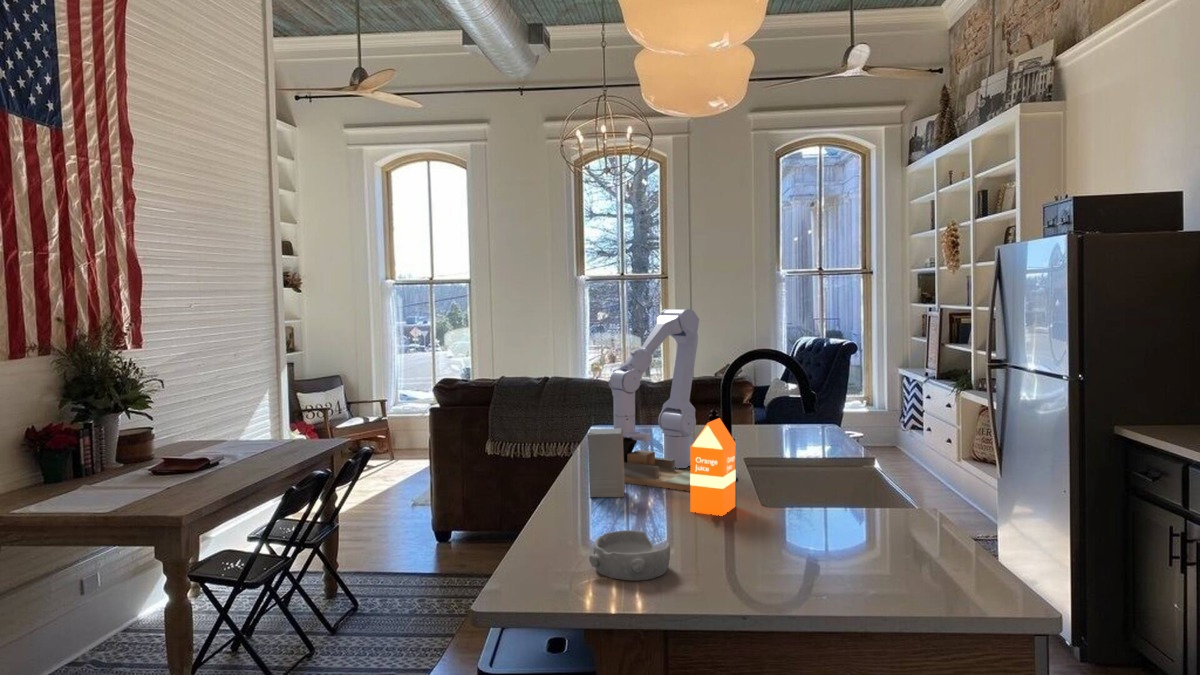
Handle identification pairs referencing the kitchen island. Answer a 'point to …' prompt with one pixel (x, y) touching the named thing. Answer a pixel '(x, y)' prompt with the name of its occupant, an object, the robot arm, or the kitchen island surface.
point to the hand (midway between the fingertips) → (624, 466)
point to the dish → (629, 556)
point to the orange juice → (713, 471)
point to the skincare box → (606, 462)
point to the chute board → (659, 481)
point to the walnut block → (641, 457)
